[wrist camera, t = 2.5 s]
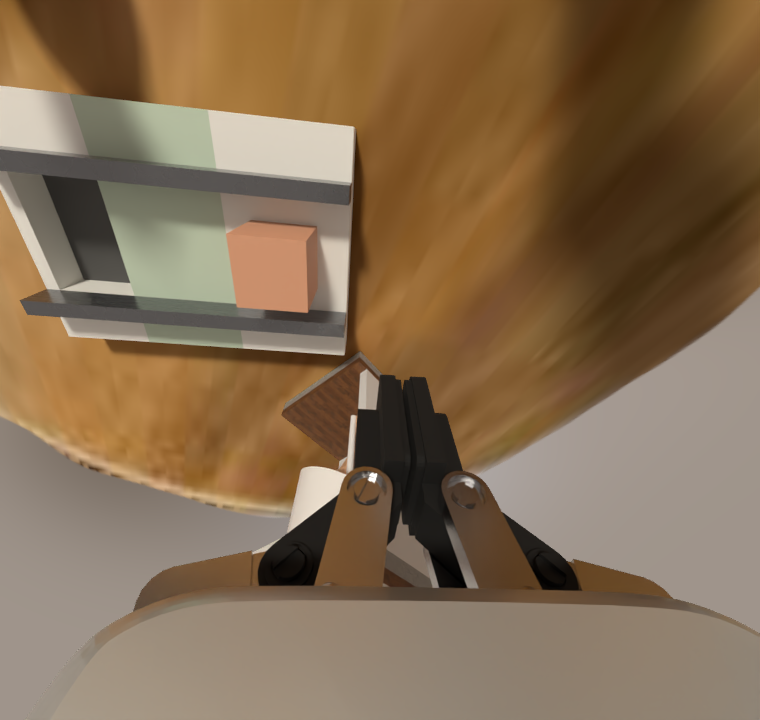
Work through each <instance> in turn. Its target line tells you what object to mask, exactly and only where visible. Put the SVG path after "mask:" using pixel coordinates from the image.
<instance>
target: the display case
mask: <svg viewBox="0 0 760 720" xmlns="http://www.w3.org/2000/svg"><path fill="white" fill-rule="evenodd" d="M380 375H382V373H381V372H380V371H379V370H378V369H377V368H376V367H375V366H374V365H373V364H372V363H371V362H370V361H369V360H368V359H367V358H366V357H365V356H364V355H363V354H362V353H361V352H358V353H357V354H355V355H354V356H353V357H351V358H350V359H348V360H347V361H345V362H344V363H343V364H341V365H340V366H338V367H337V368H335V369H334V370H333V371H331V372H330V373H328V374H327V375H325V376H324V377H323V378H321V379H320V380H318V381H317V382H315V383H314V384H313V385H311V386H310V387H308V388H307V389H305V390H304V391H303V392H301V393H300V394H298V395H297V396H295V397H294V398H293V399H291V400H290V401H288V402H287V403H285V406H284V409H283V412H282V416H283V417H284V418H286V419H287V420H288V421H289V422H291V423H292V424H293V425H294V426H296V427H297V428H298V429H300V430H301V431H302V432H303V433H305V434H306V435H307V436H308V437H310V438H311V439H312V440H314V441H315V442H316V443H317V444H319V445H320V446H321V447H322V448H324V449H325V450H326V451H328V452H329V453H330V454H331V455H333V456H334V457H335V458H337V459H338V460H339V461H340V462H339V469H337V470H332V469H328V468H323V467H306V468H303V469H302V470H301V473H300V477H299V482H298V486H297V491H296V495H295V500H294V504H293V509H292V513H291V517H290V522H289V526H288V531H287V533H289V532H290V531H291V530H293V529H294V528H295V527H296V526H298V525H299V524H300V523H302V522H303V521H304V520H306V519H307V518H308V517H309V516H311V515H312V514H313V513H315V512H316V511H317V510H319V509H320V508H321V507H322V506H324V505H325V504H326V503H328V502H329V501H330V500H332V499H333V498H334V497H335V496H337V495H338V494H339V492H340V488H341V484H342V482H343V480H344V477H345V476H346V475H347V474H348V473H349V472H350V471H352V470H354V458H355V441H356V426H357V412H358V409H371V410H376V405H377V396H378V387H379V379H380ZM280 539H281V538H280ZM280 539H279V540H280ZM277 541H278V540H277ZM277 541H275V542H273V543H271V544H269V545H267V546H265V547H263V548H261V549H259V550H257V551H255V552H253V554H255V553H260V552H265V551H267V550H268V549H269V548H270V547H271V546H272V545H273V544H274V543H276V542H277ZM383 587H424V588H433V587H432V583H431V579H430V576H429V572H428V569H427V565H426V561H425V558H424V553H423V545H421V544H420V543H419V542H418V541H417V540H416V539H415V536H409V529H408V525H403V523H402V515H401V513H400V518H399V523H398V525H397V529H396V534H395V538H394V539H393V540H392V541H391V542H390V544H389V545H388V546H387V550H386V559H385V568H384V578H383Z"/></svg>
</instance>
